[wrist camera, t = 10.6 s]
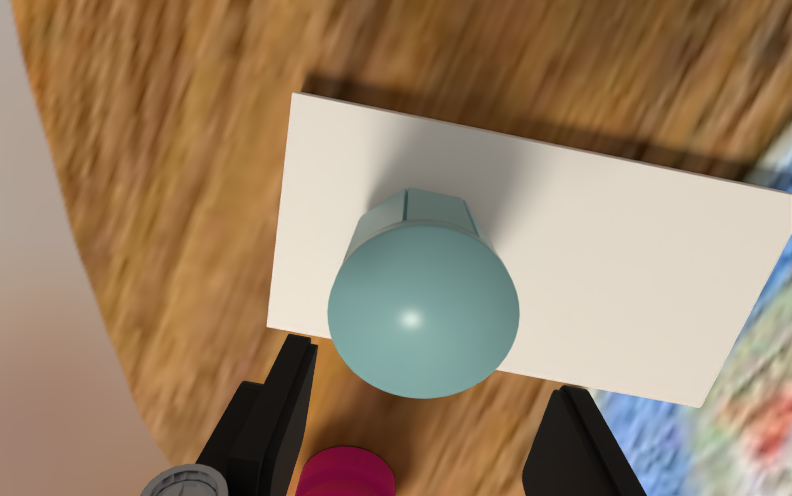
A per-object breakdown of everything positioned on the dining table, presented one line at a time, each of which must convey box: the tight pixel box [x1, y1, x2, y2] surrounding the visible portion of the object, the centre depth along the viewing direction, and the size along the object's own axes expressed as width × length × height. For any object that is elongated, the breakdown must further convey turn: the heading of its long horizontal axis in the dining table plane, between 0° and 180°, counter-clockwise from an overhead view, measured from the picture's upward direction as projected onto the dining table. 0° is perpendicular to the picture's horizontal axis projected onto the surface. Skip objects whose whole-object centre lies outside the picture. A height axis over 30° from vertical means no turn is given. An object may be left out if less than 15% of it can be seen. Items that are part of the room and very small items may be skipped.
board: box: [267, 92, 792, 408], centre depth 21 cm, size 24×12×7 cm, turn 79°
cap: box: [327, 187, 520, 399], centre depth 19 cm, size 7×7×6 cm
